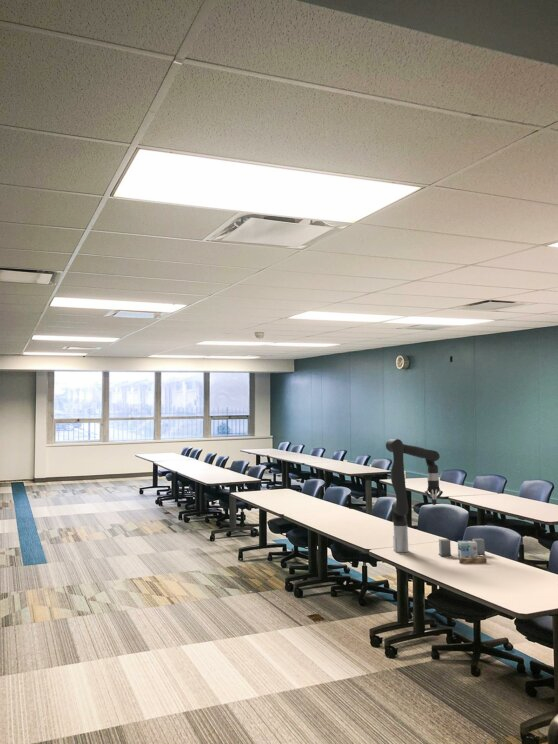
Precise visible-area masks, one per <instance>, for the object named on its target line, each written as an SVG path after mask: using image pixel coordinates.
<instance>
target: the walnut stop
mask: <svg viewBox="0 0 558 744" xmlns="http://www.w3.org/2000/svg"><path fill="white" fill-rule="evenodd" d="M458 559H459V561H458V562H459V564H461V565H462V564H463V565H466V564H467V565H468V564H471V565H472V564H487V562H488V561H487V557H486V556H478V557H475V558H458Z"/></svg>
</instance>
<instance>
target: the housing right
mask: <svg viewBox="0 0 558 744" xmlns="http://www.w3.org/2000/svg"><path fill="white" fill-rule="evenodd" d="M471 541H475V542H477V555H486V552H485V551H486V549H485V539H483V538H480V537H479V538H472V540H471Z"/></svg>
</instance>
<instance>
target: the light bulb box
mask: <svg viewBox="0 0 558 744" xmlns="http://www.w3.org/2000/svg"><path fill="white" fill-rule="evenodd" d="M475 557H479V556H477V542H475V541H472V540H457V558H458V559H459V558H475Z"/></svg>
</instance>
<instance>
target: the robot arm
mask: <svg viewBox="0 0 558 744" xmlns="http://www.w3.org/2000/svg"><path fill="white" fill-rule="evenodd" d="M385 449H386V450H387V451H388V452H389V453H392V455H393V456H392V457H393V461H392V466H391V470H390V478H391V479H390V480H391V484H392V489H393V490H394V491H393V492H394V493H395V501H394V502H393V503H392V505H391V519H392V523H393V524H392V525H393V536H392V538H393V539H392V540H393V551H394V552H395V553H408V552H409V535H408V534H409V531H408V520H407V519H406V516H407V514H408V513H409V503H408V497H407V488H406V487H407V486H406V474H405V466H404V465H405V463H404V454H405V455H408V456H412V457H416V458H419V459H425V462H426V467H427V489H426V490H425V491H424V494H425V495H426V496H427V497H428V498H429V499H431V504H432V506H436V505H437V500H438V499H440V497H441V496H442V495H443V494H444V491H442V490H441V488H440V476H439V467H438V465H437V464H436V463H435V462H437V461H438V460H439V459H440V452H438V451H436V450H432V449H426V448H424V447H421V446H420V447H419V446H416V445H412V444H411V445H410V444H404V443H403V441H402V440H401V439H399V438H390V439H388V440H387V441H386V443H385Z"/></svg>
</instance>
